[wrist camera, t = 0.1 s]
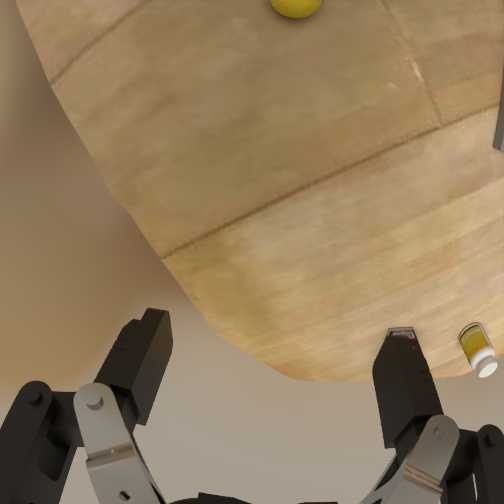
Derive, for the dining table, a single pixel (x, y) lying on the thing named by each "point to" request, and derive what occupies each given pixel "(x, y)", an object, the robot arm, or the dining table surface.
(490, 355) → the supplement bottle
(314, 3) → the lemon
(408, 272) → the dining table surface
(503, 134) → the track board
